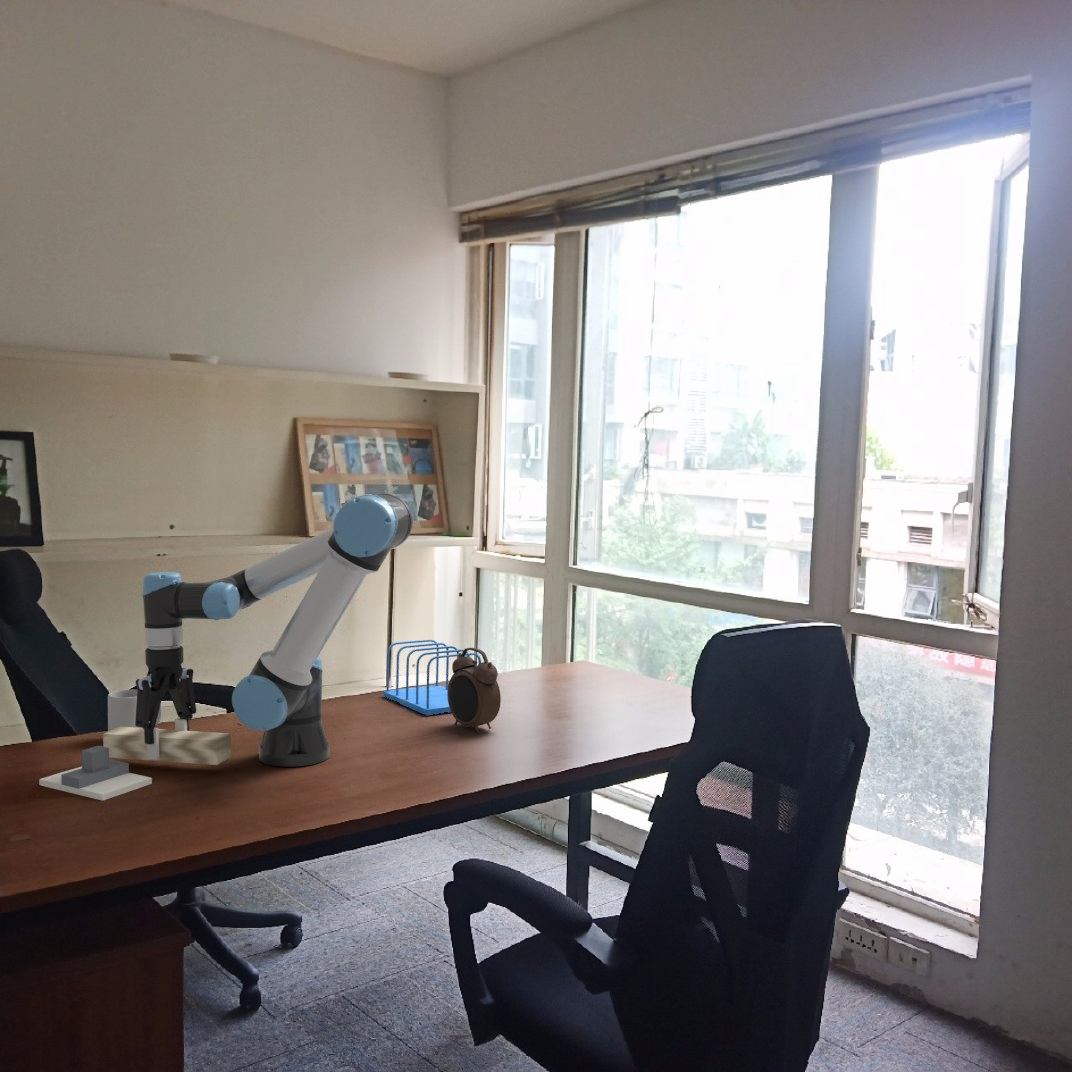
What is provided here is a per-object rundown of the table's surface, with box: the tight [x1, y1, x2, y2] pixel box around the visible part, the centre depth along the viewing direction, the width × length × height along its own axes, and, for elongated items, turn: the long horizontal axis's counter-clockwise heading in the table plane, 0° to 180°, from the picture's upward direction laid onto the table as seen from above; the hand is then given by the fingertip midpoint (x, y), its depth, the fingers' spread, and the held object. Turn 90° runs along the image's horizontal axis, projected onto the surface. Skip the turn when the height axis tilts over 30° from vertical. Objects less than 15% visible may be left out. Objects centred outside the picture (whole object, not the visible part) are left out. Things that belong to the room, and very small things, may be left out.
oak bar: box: [102, 727, 232, 766], centre depth 222 cm, size 26×6×5 cm, turn 78°
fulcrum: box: [38, 745, 153, 801], centre depth 211 cm, size 18×12×7 cm, turn 62°
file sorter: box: [382, 639, 482, 716], centre depth 284 cm, size 25×17×15 cm
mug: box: [107, 689, 163, 732], centre depth 243 cm, size 12×8×11 cm
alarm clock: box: [447, 647, 502, 734], centre depth 258 cm, size 15×7×20 cm, turn 43°
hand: (167, 753), depth 222 cm, fingers closed on oak bar, 7 cm apart
